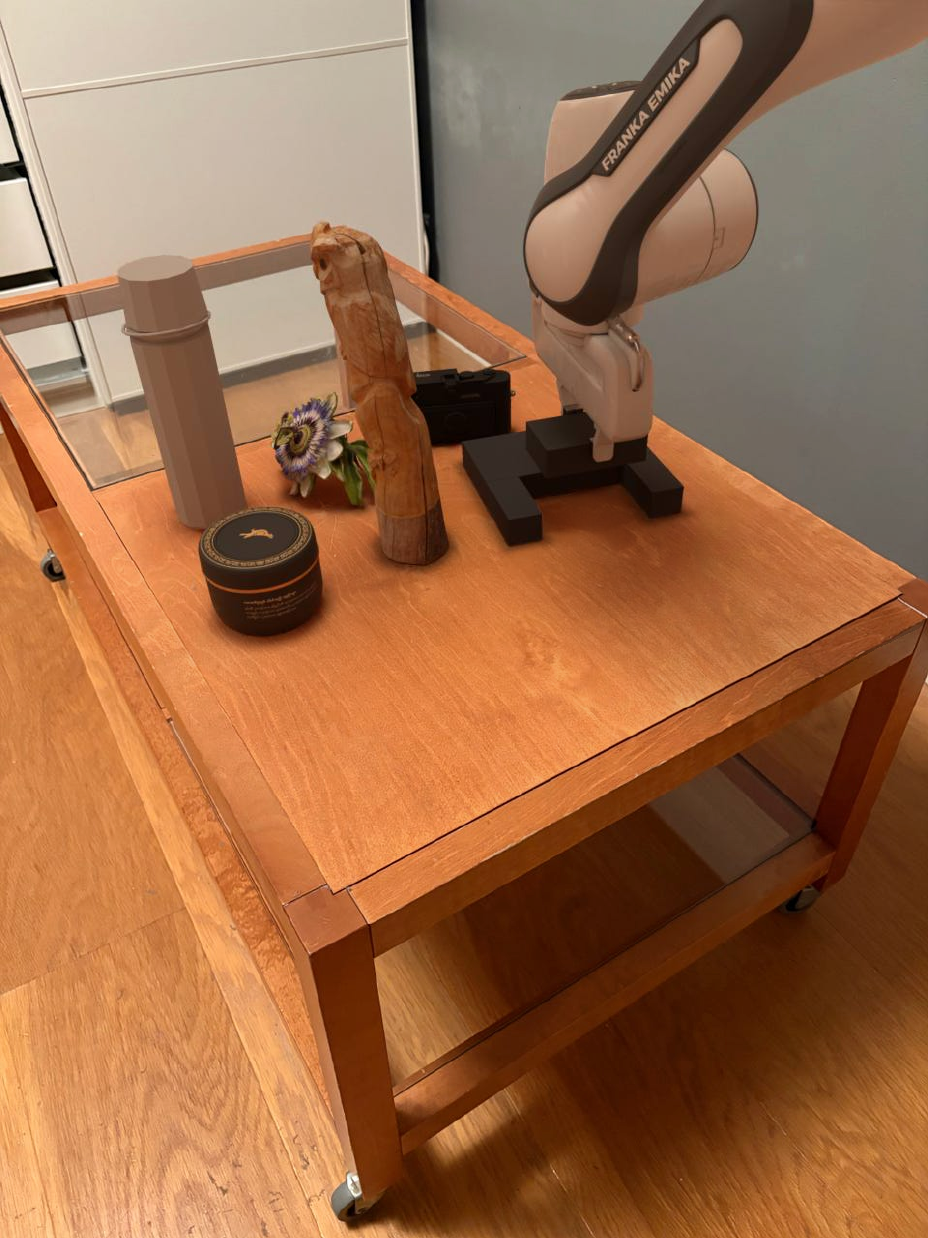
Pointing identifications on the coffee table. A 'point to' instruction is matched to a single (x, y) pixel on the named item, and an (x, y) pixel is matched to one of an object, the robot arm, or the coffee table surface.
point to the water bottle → (182, 386)
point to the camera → (464, 404)
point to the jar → (262, 570)
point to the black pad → (574, 446)
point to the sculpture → (382, 391)
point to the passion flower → (320, 449)
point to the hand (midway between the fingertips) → (585, 439)
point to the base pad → (555, 484)
